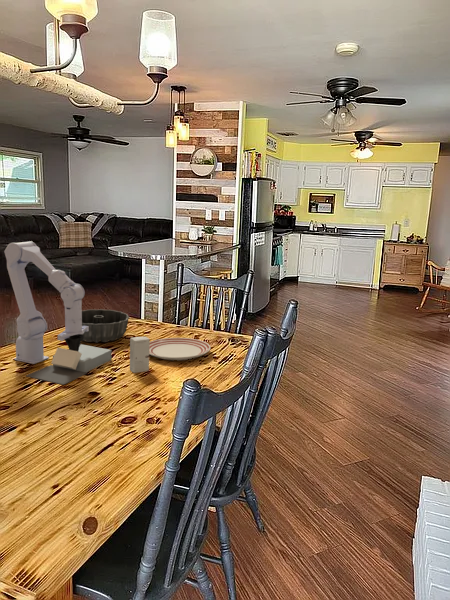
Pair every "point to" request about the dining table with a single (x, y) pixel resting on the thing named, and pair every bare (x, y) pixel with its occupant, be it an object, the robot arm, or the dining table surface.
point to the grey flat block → (91, 358)
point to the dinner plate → (178, 348)
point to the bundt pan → (104, 325)
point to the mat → (56, 374)
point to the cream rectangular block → (66, 358)
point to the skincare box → (139, 354)
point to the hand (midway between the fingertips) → (74, 354)
